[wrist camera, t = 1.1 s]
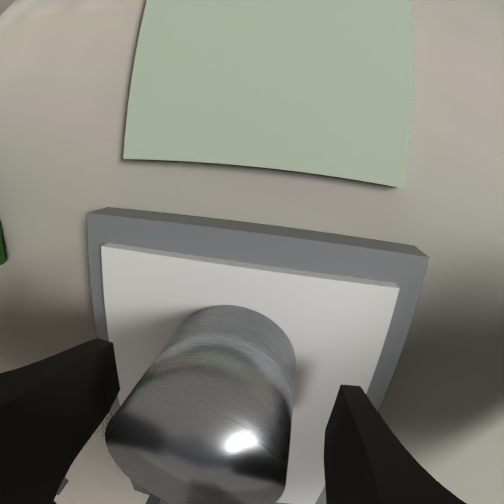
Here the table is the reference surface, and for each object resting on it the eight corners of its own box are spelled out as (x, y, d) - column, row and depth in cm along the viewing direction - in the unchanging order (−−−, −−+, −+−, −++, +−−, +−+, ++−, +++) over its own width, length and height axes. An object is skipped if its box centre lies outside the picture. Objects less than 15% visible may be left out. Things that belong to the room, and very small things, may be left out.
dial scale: (414, 245, 11) (467, 289, 7) (311, 514, 16) (308, 564, 12) (108, 207, 12) (34, 229, 8) (144, 482, 17) (121, 525, 13)
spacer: (306, 315, 10) (303, 433, 5) (285, 414, 11) (270, 524, 6) (172, 294, 10) (89, 382, 6) (174, 393, 12) (122, 487, 7)
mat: (405, -6, 8) (409, -12, 7) (399, 187, 10) (404, 188, 10) (158, -18, 9) (152, -24, 9) (130, 158, 11) (123, 158, 11)
